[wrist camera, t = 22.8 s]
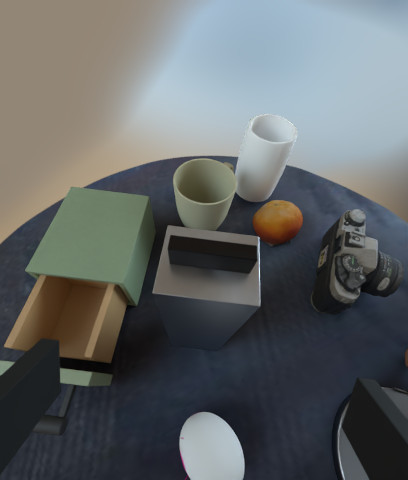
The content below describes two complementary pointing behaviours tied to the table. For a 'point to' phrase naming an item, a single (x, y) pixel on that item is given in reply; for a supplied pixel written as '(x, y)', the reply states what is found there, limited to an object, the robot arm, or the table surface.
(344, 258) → the camera
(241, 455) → the stress ball
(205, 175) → the mug
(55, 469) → the table surface
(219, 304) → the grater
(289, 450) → the table surface
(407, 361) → the toilet paper hanger
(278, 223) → the fruit
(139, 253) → the cabinet
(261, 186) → the cup
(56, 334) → the drawer
